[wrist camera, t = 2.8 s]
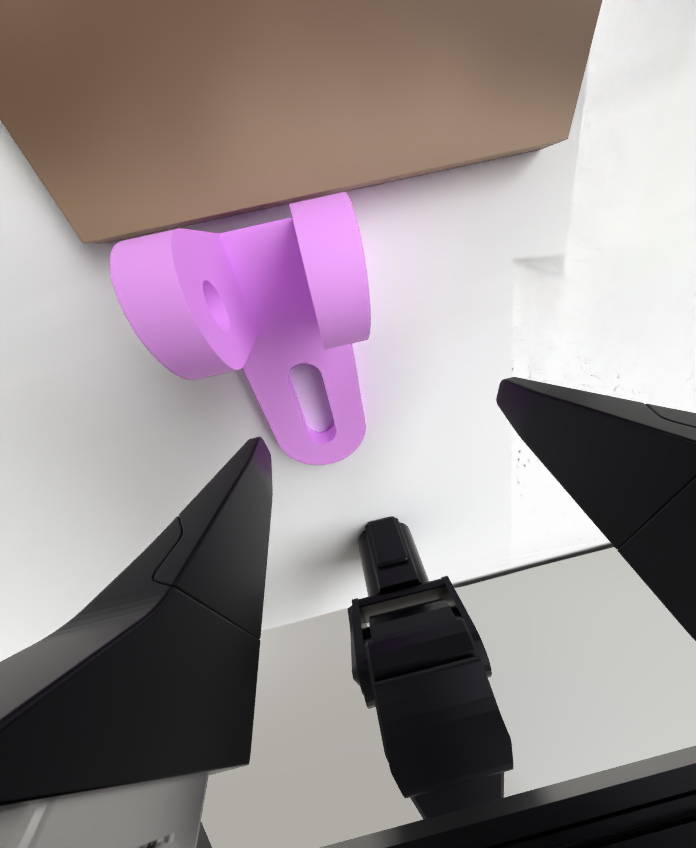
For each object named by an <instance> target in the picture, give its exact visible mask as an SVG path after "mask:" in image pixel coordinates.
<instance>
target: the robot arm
mask: <svg viewBox="0 0 696 848" xmlns="http://www.w3.org/2000/svg"><path fill="white" fill-rule="evenodd" d="M496 401H497V404H498V406H499V407H500V409H501V410H502V412H503V413H504V415H505V416H506V418H507V419H508V421H509V422H510V424H511V425H512V426H513V428H514V429H515V431H516V432H517V434H518V435H519V436H520V437H521V439H522V440H523V441H524V442H525V443H526V445H527V446H528V447H529V448H530V449H531V450H532V452H533V453H534V454H535V455H536V456H537V457H538V459H539V460H540V461H541V462H542V463H543V464H544V466H545V467H546V468H547V469H548V470H549V471H550V473H551V474H552V475H553V476H554V477H555V478H556V479H557V481H558V482H559V483H560V484H561V485H562V486H563V488H564V489H565V490H566V491H567V492H568V493H569V495H570V496H571V497H572V498H573V499H574V500H575V502H576V503H577V504H578V505H579V506H580V507H581V509H582V510H583V511H584V512H585V513H586V514H587V516H588V517H589V518H590V519H591V520H592V521H593V522H594V524H595V525H596V526H597V527H598V528H599V529H600V531H601V532H602V533H603V534H604V535H605V536H606V538H607V539H608V540H609V541H610V542H611V543H612V545H613V546H614V547H615V548H616V549H618V552H619V553H620V554H621V555H622V557H623V558H624V559H625V560H626V561H627V562H628V563H629V564H630V566H631V567H632V568H633V569H634V570H635V572H636V573H637V574H638V575H639V576H640V577H641V579H642V580H643V581H644V582H645V583H646V584H647V586H648V587H649V588H650V589H651V590H652V591H653V593H654V594H655V595H656V596H657V597H658V598H659V600H660V601H661V602H662V603H663V604H664V605H665V607H666V608H667V609H668V610H669V611H670V612H671V614H672V615H673V616H674V617H675V618H676V619H677V620H678V622H679V623H680V624H681V625H682V626H683V627H684V629H685V630H686V631H687V632H688V633H689V634H690V635H691V637H692V638H693V639H694V640H695V641H696V413H692V412H687V411H681V410H676V409H671V408H666V407H661V406H656V405H651V404H644V403H641V402H636V401H631V400H626V399H621V398H616V397H611V396H606V395H601V394H596V393H591V392H586V391H581V390H576V389H571V388H566V387H561V386H556V385H552V384H547V383H542V382H537V381H532V380H527V379H522V378H517V377H511V378H507V379H503V380H502V381H501V382H500V385H499V390H498V394H497V398H496ZM271 508H272V466H271V455H270V452H269V450H268V448H267V446H266V444H265V442H264V440H263V439H262V438H261V437H256V438H251V439H249V440H248V441H247V442H246V443H245V444H244V445H243V446H242V447H241V448H240V450H239V451H238V452H237V453H236V454H235V455H234V456H233V457H232V458H231V459H230V460H229V461H228V462H227V463H226V465H225V466H224V467H223V468H222V469H221V470H220V471H219V472H218V473H217V474H216V475H215V476H214V477H213V479H212V480H211V481H210V482H209V483H208V484H207V485H206V486H205V487H204V488H203V489H202V490H201V491H200V492H199V494H198V495H197V496H196V497H195V498H194V499H193V500H192V501H191V502H190V503H189V504H188V505H187V506H186V508H185V509H184V510H183V511H182V512H181V513H180V514H179V516H177V517H176V518H175V519H174V520H173V521H172V523H171V524H170V525H169V526H168V527H167V528H166V529H165V530H164V531H163V532H162V533H161V534H160V535H159V536H158V537H157V538H156V539H155V540H154V541H153V542H152V543H151V544H150V545H149V546H148V547H147V548H146V549H145V550H144V551H143V552H142V553H141V554H140V555H139V556H138V557H137V558H136V559H135V560H134V561H133V562H132V563H131V564H130V565H129V566H128V567H127V568H126V569H125V570H124V571H123V572H122V573H120V574H119V575H118V576H117V577H116V578H115V579H114V580H113V581H112V582H111V583H110V584H109V585H108V586H107V587H106V588H105V589H104V590H103V591H102V592H101V593H100V594H99V595H97V596H96V597H95V598H94V599H93V600H92V601H91V602H90V603H89V604H88V605H87V606H86V607H85V608H84V609H83V610H82V611H81V612H79V613H78V614H77V615H76V616H75V617H74V618H72V619H71V620H70V621H69V622H67V623H66V624H65V625H63V626H62V627H61V628H59V629H58V630H56V631H55V632H54V633H52V634H50V635H49V636H47V637H46V638H44V639H42V640H41V641H39V642H37V643H35V644H34V645H32V646H30V647H28V648H26V649H24V650H22V651H20V652H18V653H17V654H15V655H13V656H11V657H9V658H7V659H5V660H3V661H1V662H0V848H212V847H211V844H210V842H209V840H208V837H207V835H206V832H205V830H204V828H203V825H202V823H201V816H202V810H203V804H204V798H205V792H206V787H207V781H208V775H212V774H215V773H219V772H223V771H227V770H231V769H235V768H238V767H242V766H246V765H248V764H249V761H250V753H251V742H252V731H253V719H254V707H255V696H256V683H257V671H258V661H259V648H260V640H259V639H260V636H261V624H262V613H263V601H264V589H265V578H266V566H267V555H268V543H269V531H270V520H271ZM365 529H366V530H365V531H364V532H363V533H362V534H361V535H360V537H359V538H358V546H359V551H360V556H361V561H362V566H363V572H364V577H365V582H366V587H367V592H368V597H366V598H362V599H358V598H357V599H353V600H352V606H351V607H350V608H348V615H349V622H350V632H351V656H352V674H353V679H354V680H355V681H356V682H357V683H358V685H360V687H361V690H362V694H363V695H364V697H365V701H366V705H367V707H368V708H372V707H376V709H377V715H378V720H379V725H380V731H381V736H382V741H383V746H384V752H385V755H386V758H387V760H388V762H389V766H390V770H391V773H392V775H393V777H394V779H395V781H396V783H397V785H398V787H399V789H400V791H401V793H402V795H403V796H404V797H405V798H409V797H410V798H411V799H412V801H413V803H414V804H415V806H416V808H417V809H418V811H419V813H420V814H421V816H422V817H423V819H424V820H420V821H417V822H413V823H409V824H406V825H402V826H398V827H395V828H391V829H387V830H384V831H380V832H376V833H372V834H369V835H365V836H362V837H358V838H354V839H350V840H347V841H343V842H339V843H336V844H332V845H328V846H325V847H321V848H696V746H693V747H689V748H686V749H682V750H678V751H675V752H671V753H668V754H664V755H660V756H656V757H652V758H649V759H645V760H641V761H638V762H634V763H630V764H627V765H623V766H619V767H616V768H612V769H608V770H604V771H601V772H597V773H593V774H590V775H586V776H582V777H579V778H575V779H572V780H568V781H564V782H561V783H557V784H553V785H549V786H546V787H542V788H538V789H534V790H531V791H527V792H524V793H520V794H516V795H512V796H509V797H506V798H504V796H503V795H504V772H505V771H509V770H512V769H513V755H512V744H511V739H510V736H509V734H508V732H507V729H506V726H505V724H504V721H503V719H502V717H501V714H500V711H499V709H498V706H497V703H496V700H495V698H494V695H493V692H492V689H491V686H490V683H489V681H488V677H491V674H492V672H491V667H490V663H489V659H488V656H487V653H486V650H485V648H484V645H483V643H482V640H481V638H480V636H479V634H478V632H477V630H476V628H475V626H474V624H473V622H472V620H471V618H470V616H469V615H468V613H467V611H466V609H465V607H464V605H463V604H462V602H461V600H460V598H459V596H458V594H457V593H456V591H455V589H454V587H453V585H452V583H451V581H450V580H449V578H448V576H445V577H441V579H438V580H434V581H430V582H429V580H428V577H427V575H426V572H425V569H424V567H423V564H422V562H421V559H420V556H419V554H418V551H417V548H416V546H415V543H414V541H413V538H412V535H411V533H410V530H409V528H408V526H406V525H405V524H403V523H400V522H399V521H398V519H397V518H395V517H388V518H384V519H380V520H376V521H372V522H369V523H368V525H366V526H365ZM366 623H370V627H367V624H366Z"/></svg>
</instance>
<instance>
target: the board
mask: <svg viewBox="0 0 696 848" xmlns="http://www.w3.org/2000/svg"><path fill="white" fill-rule="evenodd" d="M601 3H602V0H0V120H1V121H2V123H3V124H4V126H5V127H6V129H7V130H8V132H9V133H10V135H11V136H12V138H13V139H14V141H15V142H16V144H17V145H18V147H19V148H20V150H21V151H22V153H23V154H24V156H25V157H26V159H27V160H28V162H29V163H30V164H31V166H32V167H33V169H34V170H35V172H36V173H37V175H38V176H39V178H40V179H41V181H42V182H43V184H44V185H45V187H46V188H47V190H48V191H49V193H50V194H51V196H52V197H53V199H54V200H55V202H56V203H57V205H58V206H59V208H60V209H61V211H62V212H63V214H64V215H65V217H66V218H67V220H68V221H69V223H70V224H71V226H72V227H73V229H74V230H75V232H76V233H77V235H78V236H79V238H80V239H81V241H82V242H83V243H107V242H112V241H116V240H121V239H126V238H130V237H135V236H140V235H144V234H149V233H154V232H158V231H163V230H168V229H172V228H177V227H181V226H186V225H191V224H195V223H200V222H205V221H209V220H214V219H219V218H223V217H228V216H233V215H237V214H242V213H246V212H251V211H256V210H260V209H265V208H270V207H274V206H279V205H284V204H288V203H293V202H298V201H302V200H307V199H312V198H316V197H321V196H325V195H330V194H335V193H339V192H344V191H349V190H353V189H358V188H363V187H367V186H372V185H377V184H381V183H386V182H390V181H395V180H400V179H404V178H409V177H414V176H418V175H423V174H428V173H432V172H437V171H442V170H446V169H451V168H455V167H460V166H465V165H469V164H474V163H479V162H483V161H488V160H493V159H497V158H502V157H507V156H511V155H516V154H521V153H525V152H530V151H534V150H539V149H543V148H546V147H548V146H551V145H553V144H556V143H558V142H561V141H564V140H566V139H568V136H569V132H570V128H571V124H572V120H573V116H574V112H575V108H576V103H577V99H578V95H579V91H580V87H581V83H582V79H583V75H584V71H585V67H586V63H587V59H588V55H589V51H590V47H591V43H592V39H593V35H594V31H595V27H596V23H597V19H598V15H599V11H600V7H601Z"/></svg>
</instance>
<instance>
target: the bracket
mask: <svg viewBox="0 0 696 848" xmlns="http://www.w3.org/2000/svg"><path fill="white" fill-rule="evenodd" d="M289 205H290V210H291V214H292V217H290V218H286V219H281V220H277V221H272V222H268V223H263V224H259V225H254V226H250V227H245V228H241V229H236V230H232V231H227V232H223V233H213V232H205V231H198V230H190V229H182V228H178V229H173V230H169V231H164V232H160V233H155V234H151V235H146V236H142V237H137V238H133V239H128V240H124V241H120V242H118V243H117V244H115V245H114V247H113V249H112V251H111V254H110V273H111V278H112V283H113V286H114V290H115V293H116V296H117V298H118V301H119V303H120V305H121V307H122V310H123V312H124V314H125V316H126V317H127V319H128V321H129V323H130V325H131V326H132V328H133V330H134V331H135V333H136V334H137V336H138V337H139V338H140V340H141V341H142V343H143V344H144V345H145V346H146V348H147V349H148V350H149V351H150V352H151V354H152V355H153V356H154V357H155V358H156V359H157V360H158V361H159V362H160V363H161V364H162V365H164V366H165V367H166V368H167V369H169V370H170V371H171V372H173V373H174V374H176V375H178V376H180V377H182V378H185V379H188V380H197V379H201V378H205V377H210V376H214V375H218V374H222V373H227V372H231V371H235V370H240V369H242V368H243V370H244V373H245V375H246V377H247V379H248V381H249V383H250V385H251V387H252V389H253V392H254V394H255V396H256V398H257V400H258V402H259V404H260V406H261V408H262V411H263V413H264V415H265V417H266V419H267V421H268V423H269V425H270V427H271V430H272V432H273V434H274V436H275V438H276V440H277V442H278V444H279V446H280V447H281V449H282V450H283V451H284V452H285V453H286V454H287V455H288V456H290V457H291V458H293V459H295V460H297V461H299V462H302V463H306V464H312V465H324V464H330V463H334V462H337V461H340V460H342V459H344V458H346V457H347V456H349V455H350V454H352V453H353V452H354V451H355V450H356V449H357V448H358V446H359V445H360V444H361V442H362V440H363V438H364V435H365V428H366V425H365V418H364V412H363V406H362V401H361V395H360V389H359V383H358V377H357V371H356V365H355V359H354V353H353V347H352V343H355V342H359V341H364V340H367V339H368V337H369V334H370V320H371V319H370V297H369V287H368V278H367V270H366V264H365V257H364V251H363V246H362V241H361V236H360V231H359V227H358V223H357V219H356V215H355V212H354V209H353V206H352V203H351V200H350V198H349V196H348V194H347V193H346V192H341V193H336V194H332V195H327V196H323V197H318V198H313V199H309V200H304V201H300V202H295V203H291V204H289ZM301 363H308V364H311V365H314V366H315V367H317V368H318V369H319V371H320V372H321V374H322V377H323V381H324V385H325V389H326V393H327V396H328V400H329V404H330V408H331V411H332V415H333V419H334V424H333V426H332V427H331V428H330V429H329V430H327V431H325V432H315V431H312V430H311V429H309V427H308V426H307V424H306V421H305V418H304V415H303V412H302V410H301V407H300V404H299V401H298V398H297V396H296V393H295V390H294V387H293V384H292V381H291V379H290V376H289V371H290V369H291V368H292V367H294V366H295V365H297V364H301Z"/></svg>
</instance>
